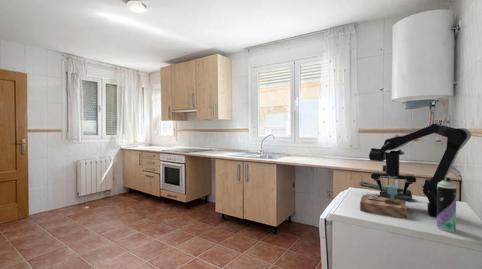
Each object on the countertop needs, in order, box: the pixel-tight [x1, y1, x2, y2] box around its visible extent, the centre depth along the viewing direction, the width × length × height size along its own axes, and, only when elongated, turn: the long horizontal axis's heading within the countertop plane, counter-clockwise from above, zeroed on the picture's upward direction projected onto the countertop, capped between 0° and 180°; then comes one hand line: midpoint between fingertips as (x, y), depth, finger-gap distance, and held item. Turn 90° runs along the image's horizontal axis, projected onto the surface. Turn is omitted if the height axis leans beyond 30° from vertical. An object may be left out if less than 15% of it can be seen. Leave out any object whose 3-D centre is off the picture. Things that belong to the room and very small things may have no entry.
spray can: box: [436, 177, 457, 233], centre depth 89 cm, size 6×6×20 cm
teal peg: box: [387, 184, 398, 199], centre depth 117 cm, size 4×4×9 cm
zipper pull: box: [358, 180, 413, 202], centre depth 129 cm, size 9×7×25 cm
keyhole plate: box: [359, 194, 408, 219], centre depth 110 cm, size 18×13×4 cm
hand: (392, 193), depth 117 cm, fingers open, 9 cm apart
